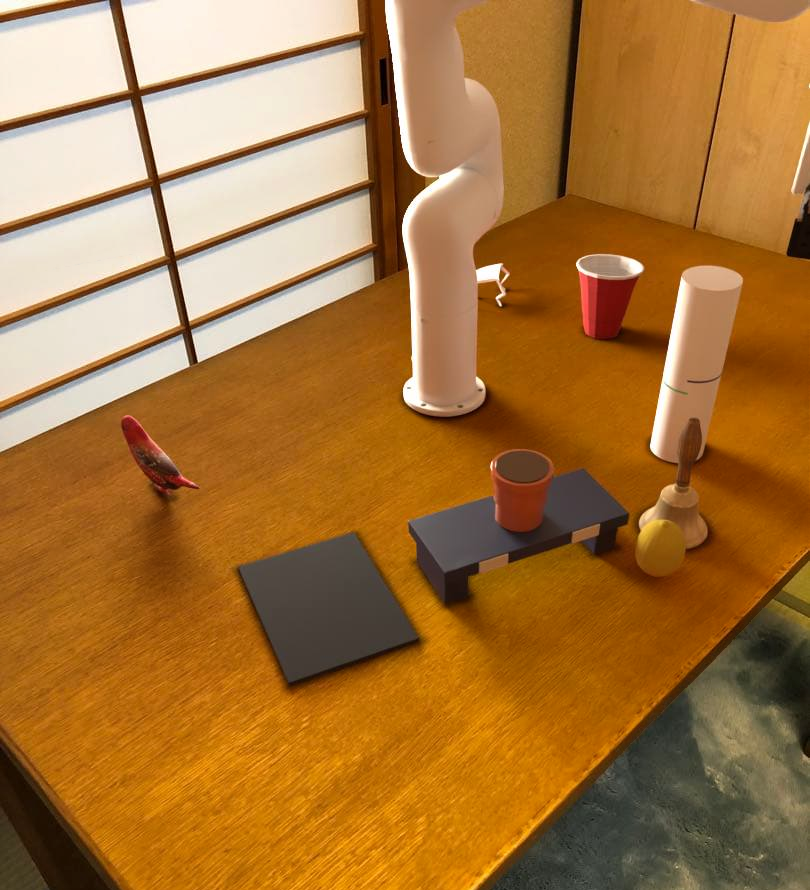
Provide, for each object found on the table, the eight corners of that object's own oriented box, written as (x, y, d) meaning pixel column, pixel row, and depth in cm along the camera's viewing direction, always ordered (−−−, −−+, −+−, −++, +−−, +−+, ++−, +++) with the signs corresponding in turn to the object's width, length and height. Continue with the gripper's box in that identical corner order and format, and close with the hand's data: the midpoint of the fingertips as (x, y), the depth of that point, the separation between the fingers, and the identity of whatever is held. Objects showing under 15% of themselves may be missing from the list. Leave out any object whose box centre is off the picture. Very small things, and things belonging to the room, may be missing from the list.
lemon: (669, 596, 100) (682, 544, 95) (623, 580, 103) (633, 527, 97) (685, 568, 104) (698, 516, 99) (640, 553, 106) (650, 501, 101)
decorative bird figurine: (144, 466, 123) (127, 405, 116) (217, 521, 113) (203, 458, 107) (126, 475, 122) (108, 414, 115) (198, 532, 112) (183, 468, 105)
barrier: (409, 558, 107) (407, 520, 103) (578, 505, 113) (583, 467, 110) (445, 612, 99) (445, 574, 96) (624, 552, 106) (631, 513, 102)
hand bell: (668, 558, 105) (693, 448, 95) (625, 520, 111) (643, 412, 100) (721, 536, 108) (751, 427, 98) (676, 500, 114) (699, 393, 103)
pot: (478, 508, 104) (479, 457, 99) (530, 492, 106) (534, 441, 101) (506, 542, 99) (509, 491, 94) (560, 525, 101) (566, 474, 96)
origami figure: (499, 315, 155) (500, 289, 151) (455, 307, 157) (455, 281, 154) (522, 288, 163) (524, 262, 159) (480, 281, 166) (481, 255, 162)
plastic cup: (644, 325, 150) (654, 257, 142) (619, 351, 143) (629, 282, 136) (585, 311, 155) (592, 244, 147) (559, 336, 148) (565, 268, 140)
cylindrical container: (704, 465, 119) (745, 292, 103) (650, 460, 120) (682, 288, 104) (701, 436, 124) (740, 267, 108) (650, 432, 126) (680, 264, 109)
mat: (238, 570, 106) (237, 566, 106) (354, 535, 110) (353, 531, 110) (289, 686, 92) (288, 683, 92) (419, 641, 96) (419, 638, 96)
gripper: (823, 51, 94) (783, 210, 106) (801, 91, 83) (759, 265, 94) (899, 56, 92) (850, 218, 103) (888, 98, 80) (834, 276, 91)
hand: (807, 241), depth 98 cm, fingers open, 9 cm apart
